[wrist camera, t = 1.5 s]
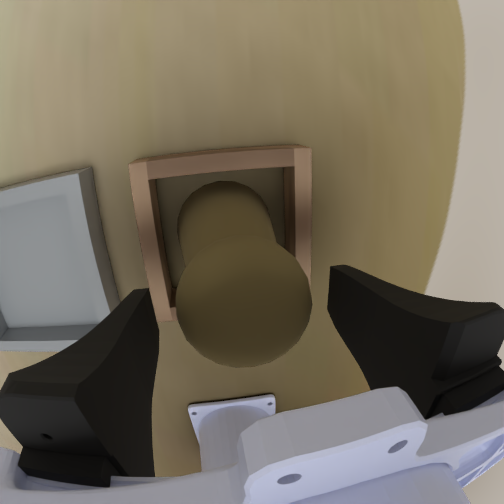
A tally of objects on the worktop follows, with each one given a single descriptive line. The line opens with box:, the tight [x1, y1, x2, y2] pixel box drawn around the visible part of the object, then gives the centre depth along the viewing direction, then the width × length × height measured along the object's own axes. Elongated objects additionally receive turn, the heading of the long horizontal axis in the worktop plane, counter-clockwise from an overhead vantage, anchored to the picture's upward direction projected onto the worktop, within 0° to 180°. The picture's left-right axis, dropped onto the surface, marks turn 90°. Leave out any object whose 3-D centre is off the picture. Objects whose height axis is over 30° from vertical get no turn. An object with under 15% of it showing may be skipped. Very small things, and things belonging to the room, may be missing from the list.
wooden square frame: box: [128, 145, 312, 322], centre depth 19 cm, size 10×10×2 cm
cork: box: [176, 181, 312, 368], centre depth 16 cm, size 6×6×11 cm
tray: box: [0, 167, 120, 352], centre depth 18 cm, size 12×12×2 cm
